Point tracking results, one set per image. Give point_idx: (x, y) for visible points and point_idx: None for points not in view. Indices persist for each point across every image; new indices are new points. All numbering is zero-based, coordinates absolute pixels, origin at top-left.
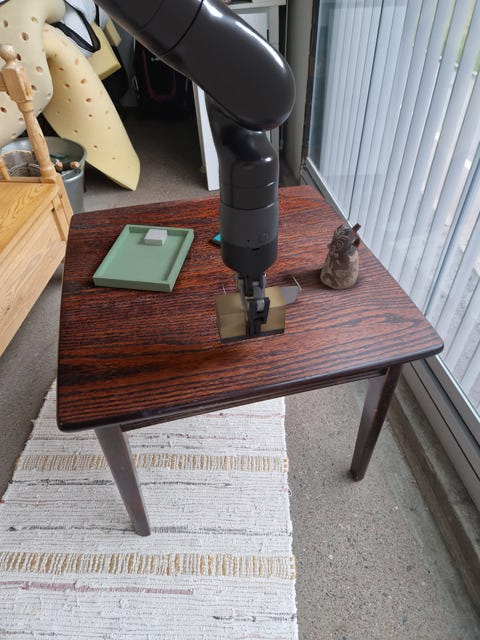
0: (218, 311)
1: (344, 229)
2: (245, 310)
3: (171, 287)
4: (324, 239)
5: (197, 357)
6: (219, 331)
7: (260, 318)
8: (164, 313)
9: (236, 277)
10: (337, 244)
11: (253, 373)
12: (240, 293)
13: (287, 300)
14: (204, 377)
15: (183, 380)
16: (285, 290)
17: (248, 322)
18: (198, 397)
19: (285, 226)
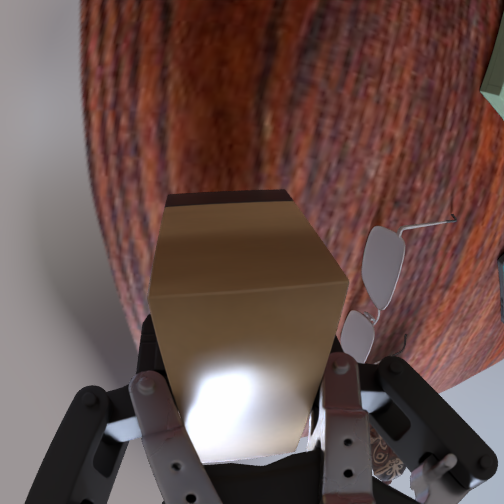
0: (189, 295)
1: (392, 475)
2: (154, 415)
3: (489, 97)
4: (435, 377)
5: (233, 87)
6: (202, 207)
7: (101, 439)
8: (426, 46)
9: (322, 496)
10: (382, 454)
11: (143, 234)
12: (185, 496)
13: (346, 337)
14: (147, 101)
15: (150, 41)
16: (360, 354)
17: (83, 404)
18: (82, 84)
19: (488, 333)
